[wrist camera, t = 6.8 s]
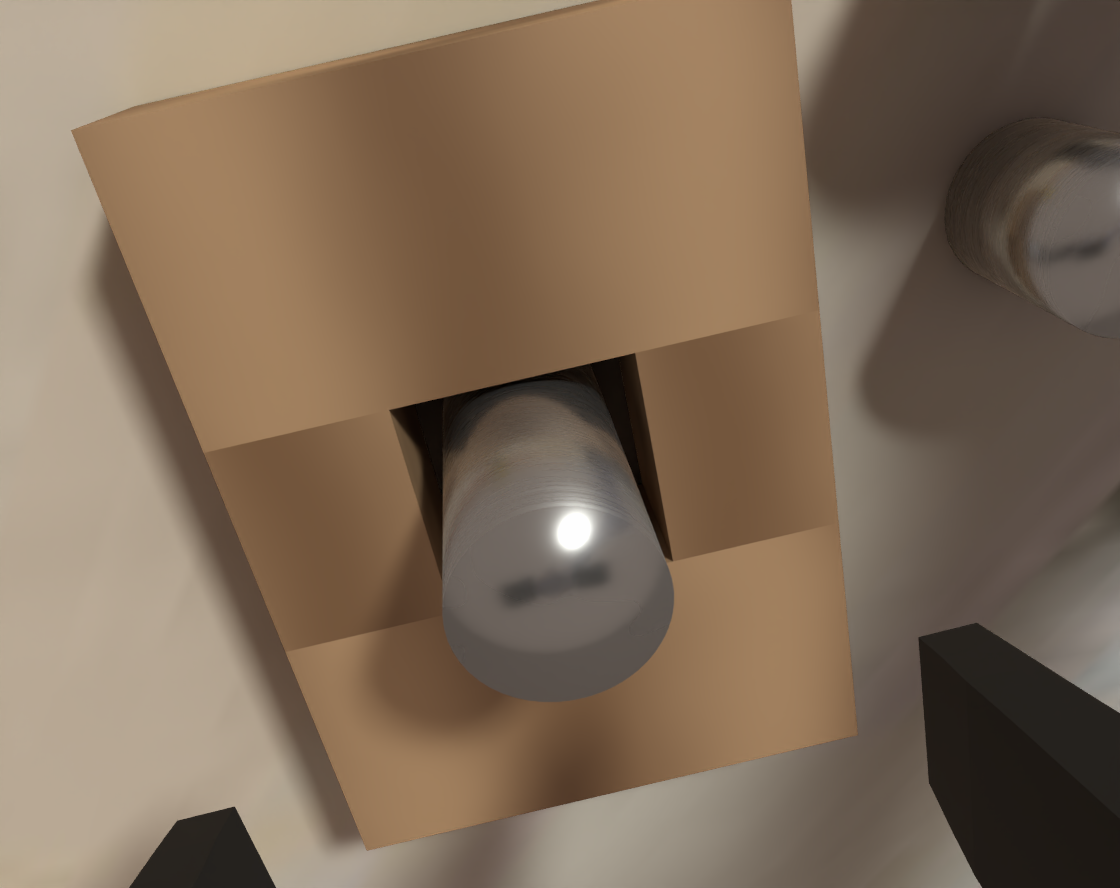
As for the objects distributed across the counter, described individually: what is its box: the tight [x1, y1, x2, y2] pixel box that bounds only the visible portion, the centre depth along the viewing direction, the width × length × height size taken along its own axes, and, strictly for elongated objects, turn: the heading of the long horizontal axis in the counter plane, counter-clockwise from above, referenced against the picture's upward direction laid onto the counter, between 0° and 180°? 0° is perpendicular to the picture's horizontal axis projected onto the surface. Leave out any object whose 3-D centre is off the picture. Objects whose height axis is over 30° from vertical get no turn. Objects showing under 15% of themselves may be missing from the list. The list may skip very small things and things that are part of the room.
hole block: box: [71, 0, 858, 851], centre depth 18 cm, size 10×14×3 cm
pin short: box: [945, 118, 1120, 338], centre depth 17 cm, size 3×3×4 cm
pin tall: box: [442, 364, 674, 702], centre depth 16 cm, size 3×3×7 cm
